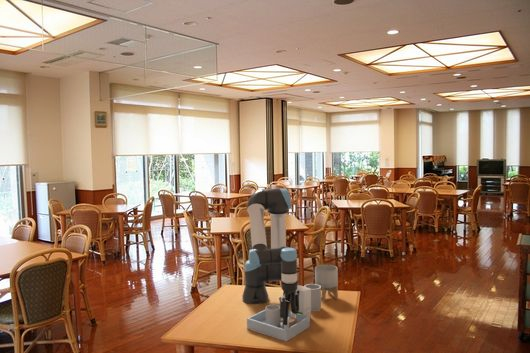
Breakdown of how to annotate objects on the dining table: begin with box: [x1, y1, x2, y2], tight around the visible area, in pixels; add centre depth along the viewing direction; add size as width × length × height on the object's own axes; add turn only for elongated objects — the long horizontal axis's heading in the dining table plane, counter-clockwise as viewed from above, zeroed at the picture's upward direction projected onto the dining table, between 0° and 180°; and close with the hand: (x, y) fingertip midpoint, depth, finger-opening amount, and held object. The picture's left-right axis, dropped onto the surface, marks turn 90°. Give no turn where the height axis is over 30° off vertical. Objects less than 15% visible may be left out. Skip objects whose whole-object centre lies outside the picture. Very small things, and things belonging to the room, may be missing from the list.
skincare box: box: [290, 284, 312, 318], centre depth 222 cm, size 8×7×16 cm
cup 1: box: [265, 304, 283, 327], centre depth 211 cm, size 7×10×9 cm
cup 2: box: [304, 283, 322, 312], centre depth 234 cm, size 9×9×12 cm
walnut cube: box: [282, 316, 297, 329], centre depth 206 cm, size 5×5×5 cm
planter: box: [314, 264, 339, 302], centre depth 249 cm, size 13×13×18 cm
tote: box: [246, 308, 311, 342], centre depth 210 cm, size 20×24×5 cm
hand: (290, 328), depth 206 cm, fingers closed on walnut cube, 5 cm apart
